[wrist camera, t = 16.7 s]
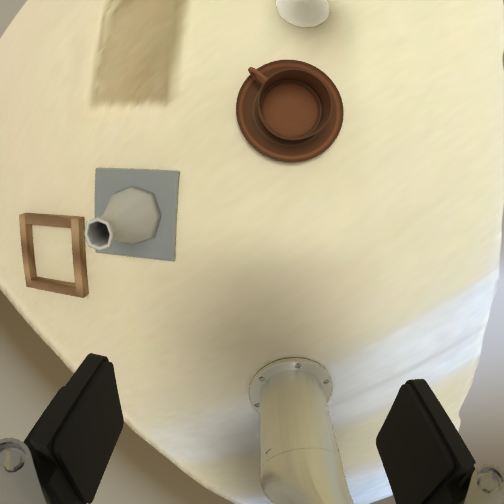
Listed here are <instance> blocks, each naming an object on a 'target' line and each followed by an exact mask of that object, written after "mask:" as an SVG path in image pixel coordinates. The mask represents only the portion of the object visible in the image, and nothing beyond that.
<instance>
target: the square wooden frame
mask: <svg viewBox="0 0 504 504" xmlns="http://www.w3.org/2000/svg"><path fill="white" fill-rule="evenodd" d="M19 221H20V235H21V246H22V256H23V264H24V272H25V279H26V286H27V287H31V288H36V289H41V290H46V291H51V292H56V293H61V294H66V295H71V296H76V297H82V298H84V297H85V296H86V295H87V294H88V293H89V292H88V281H87V268H86V253H85V235H84V232H85V228H84V217H78V216H64V215H50V214H35V213H24V214H21V215H19ZM32 224H34V225H45V226H56V227H67V228H71V232H72V251H73V265H74V276H75V283H70V282H64V281H58V280H53V279H47V278H42V277H37V275H36V268H35V259H34V249H33V237H32Z"/></svg>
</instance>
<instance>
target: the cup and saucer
mask: <svg viewBox="0 0 504 504" xmlns="http://www.w3.org/2000/svg"><path fill="white" fill-rule="evenodd" d="M248 71H249V73H250V74H251V75H250V76H249V77H248V78H247V79H246V80H245V82H244V83H243V85H242V87H241V89H240V91H239V94H238V97H237V103H236V114H237V120H238V123H239V126H240V129H241V131H242V133H243V134H244V136H245V138H246V139H247V140H248V142H249V143H250V144H251V145H252V146H253V147H254V148H256V149H257V150H258V151H260V152H261V153H263V154H264V155H266V156H268V157H271V158H273V159H277V160H281V161H288V162H297V161H303V160H307V159H311V158H313V157H316V156H317V155H319V154H321V153H322V152H324V151H325V150H326V149H328V148H329V147H330V146H331V145H332V143H333V142H334V141H335V139H336V138H337V136H338V134H339V132H340V129H341V126H342V122H343V103H342V99H341V96H340V94H339V91H338V89H337V88H336V86H335V84H334V83H333V82H332V80H331V79H330V78H329V77H328V76H327V75H326V74H325V73H324V72H322V71H321V70H319V69H318V68H316V67H314V66H312V65H310V64H308V63H305V62H302V61H297V60H279V61H274V62H270V63H268V64H265V65H263V66H261V67H260V68H258V69H255V68H252V67H250V68H249V69H248Z"/></svg>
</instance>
